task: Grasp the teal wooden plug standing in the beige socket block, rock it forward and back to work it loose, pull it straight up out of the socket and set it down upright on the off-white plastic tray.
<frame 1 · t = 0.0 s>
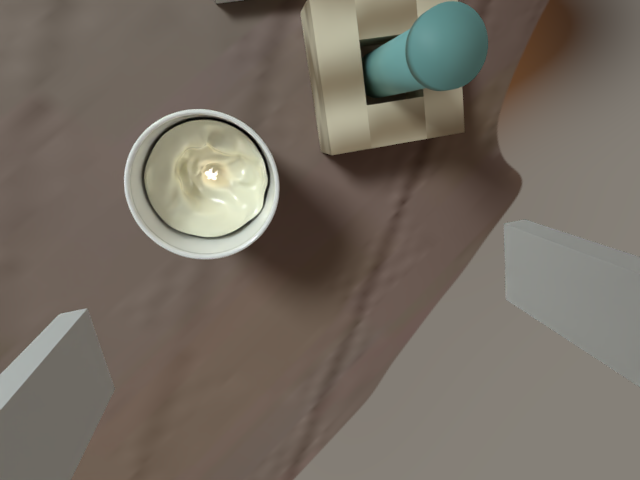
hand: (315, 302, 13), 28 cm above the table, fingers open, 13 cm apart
candle holder: (215, 169, 39), on the table
beige socket block: (374, 76, 39), on the table
plug: (377, 74, 38), point 1 cm above the table, touching beige socket block
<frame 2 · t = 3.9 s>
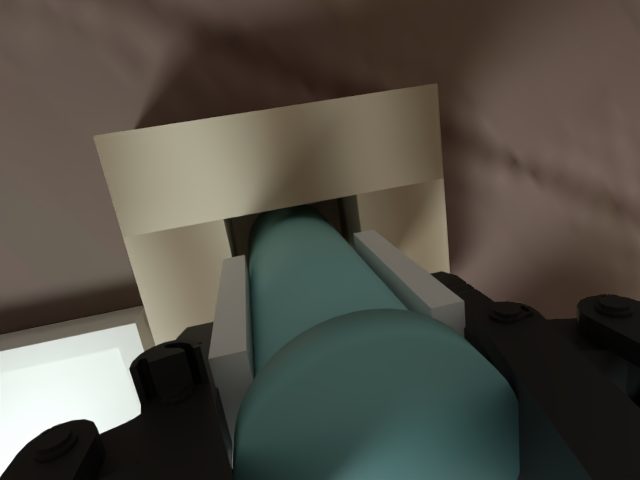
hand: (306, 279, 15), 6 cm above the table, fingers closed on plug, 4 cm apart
beige socket block: (288, 236, 21), on the table
plug: (290, 242, 20), point 1 cm above the table, touching gripper, beige socket block
tray: (63, 424, 21), on the table
when the fingers open (7 cm above the table, at t = 12.3 s): plug stays where it is, resting on tray.
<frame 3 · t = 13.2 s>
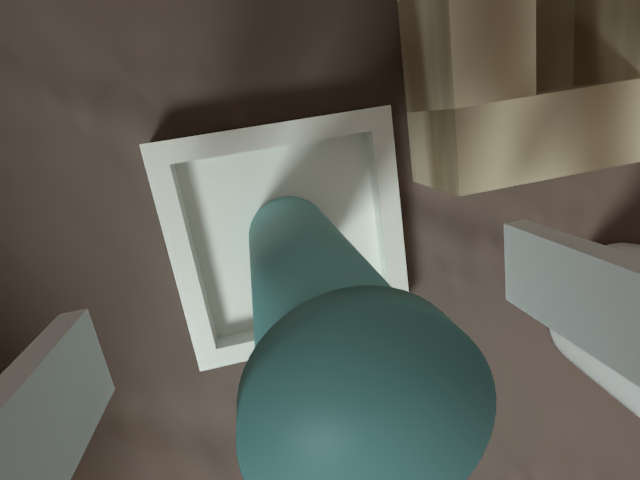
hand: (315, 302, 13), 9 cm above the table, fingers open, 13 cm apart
candle holder: (602, 303, 27), on the table
beige socket block: (514, 43, 21), on the table
plug: (289, 236, 21), point 1 cm above the table, touching tray
tray: (286, 233, 22), on the table
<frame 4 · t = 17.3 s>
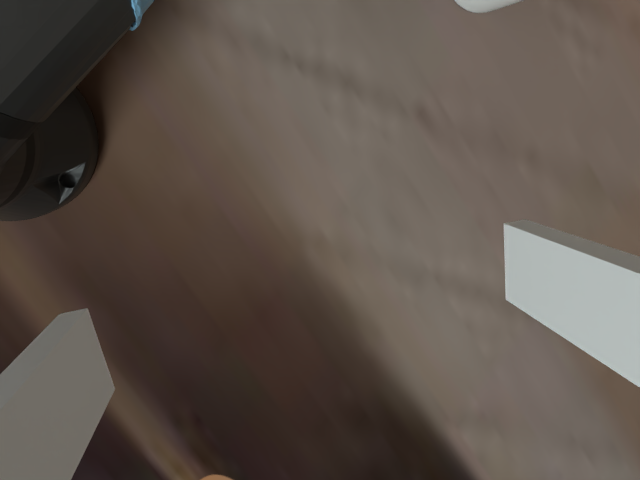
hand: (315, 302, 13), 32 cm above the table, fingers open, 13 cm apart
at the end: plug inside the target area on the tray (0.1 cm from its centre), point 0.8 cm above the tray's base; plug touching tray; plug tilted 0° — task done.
